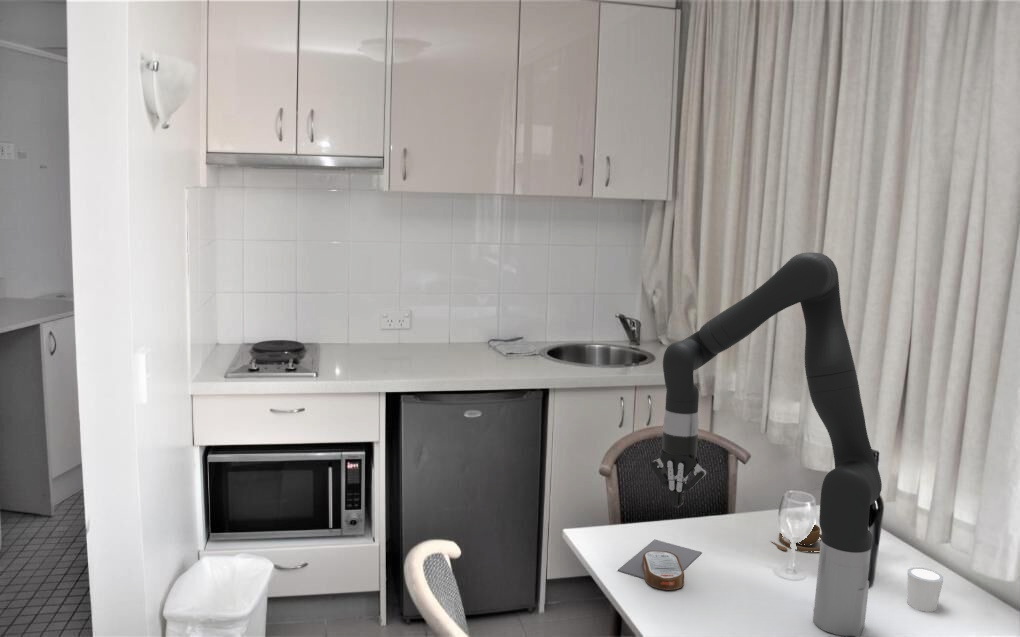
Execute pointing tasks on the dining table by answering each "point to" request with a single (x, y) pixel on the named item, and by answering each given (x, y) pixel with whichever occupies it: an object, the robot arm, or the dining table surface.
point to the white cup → (923, 588)
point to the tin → (663, 570)
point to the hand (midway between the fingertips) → (676, 506)
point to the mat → (683, 553)
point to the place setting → (803, 541)
